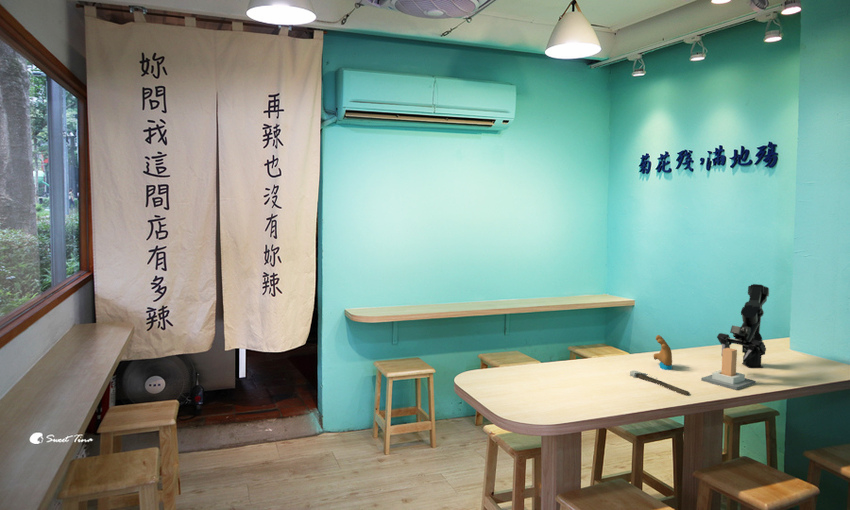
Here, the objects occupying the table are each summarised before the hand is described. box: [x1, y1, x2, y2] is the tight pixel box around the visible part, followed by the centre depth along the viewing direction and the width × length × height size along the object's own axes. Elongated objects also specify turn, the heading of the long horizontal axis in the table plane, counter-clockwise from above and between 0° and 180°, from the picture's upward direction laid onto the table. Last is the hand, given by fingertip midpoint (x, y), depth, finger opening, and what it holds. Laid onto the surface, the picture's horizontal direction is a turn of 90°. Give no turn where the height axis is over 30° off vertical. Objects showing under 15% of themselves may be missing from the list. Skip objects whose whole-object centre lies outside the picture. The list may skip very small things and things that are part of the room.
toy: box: [653, 334, 673, 371], centre depth 265 cm, size 12×7×15 cm, turn 168°
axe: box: [629, 370, 690, 396], centre depth 241 cm, size 11×2×30 cm
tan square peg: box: [721, 347, 738, 377], centre depth 242 cm, size 4×4×13 cm
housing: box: [700, 369, 756, 391], centre depth 243 cm, size 15×15×4 cm
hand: (732, 358), depth 244 cm, fingers open, 9 cm apart
